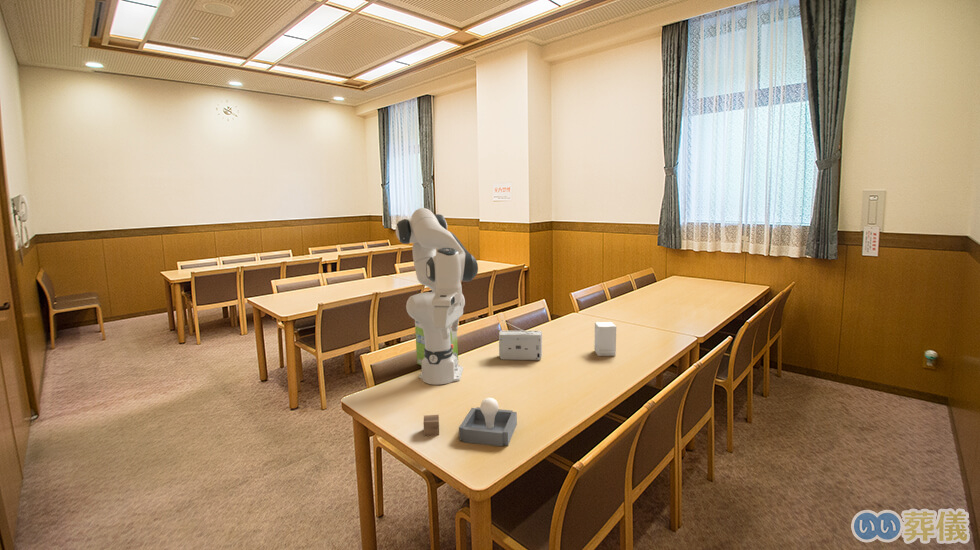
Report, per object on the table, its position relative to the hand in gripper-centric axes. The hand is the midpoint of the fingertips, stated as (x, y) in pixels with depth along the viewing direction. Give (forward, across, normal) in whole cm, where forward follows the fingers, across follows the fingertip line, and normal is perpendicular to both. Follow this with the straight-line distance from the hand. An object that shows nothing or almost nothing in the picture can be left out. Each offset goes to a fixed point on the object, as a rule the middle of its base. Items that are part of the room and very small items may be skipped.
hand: (450, 334), depth 162 cm
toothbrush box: (+31, -53, -26) cm, 67 cm away
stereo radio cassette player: (+31, -67, +12) cm, 75 cm away
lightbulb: (+31, +6, +15) cm, 35 cm away
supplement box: (+31, -82, +52) cm, 102 cm away
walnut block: (+31, +11, -4) cm, 33 cm away
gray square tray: (+31, +7, +15) cm, 35 cm away
